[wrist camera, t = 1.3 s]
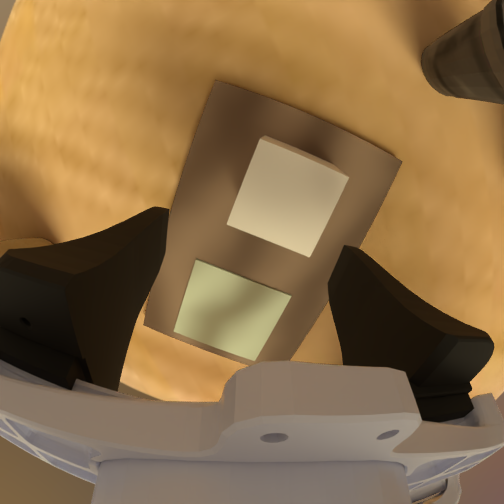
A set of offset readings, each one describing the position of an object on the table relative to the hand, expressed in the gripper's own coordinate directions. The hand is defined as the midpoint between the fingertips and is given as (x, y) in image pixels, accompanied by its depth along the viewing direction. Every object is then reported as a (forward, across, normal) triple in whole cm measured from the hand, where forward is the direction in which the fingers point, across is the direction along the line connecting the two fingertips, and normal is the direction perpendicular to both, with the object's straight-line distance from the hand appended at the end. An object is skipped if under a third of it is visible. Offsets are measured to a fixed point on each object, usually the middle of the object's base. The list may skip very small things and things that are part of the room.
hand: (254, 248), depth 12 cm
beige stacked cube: (+9, -2, 0) cm, 10 cm away
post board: (+10, -1, +6) cm, 12 cm away
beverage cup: (+11, -12, -13) cm, 21 cm away
